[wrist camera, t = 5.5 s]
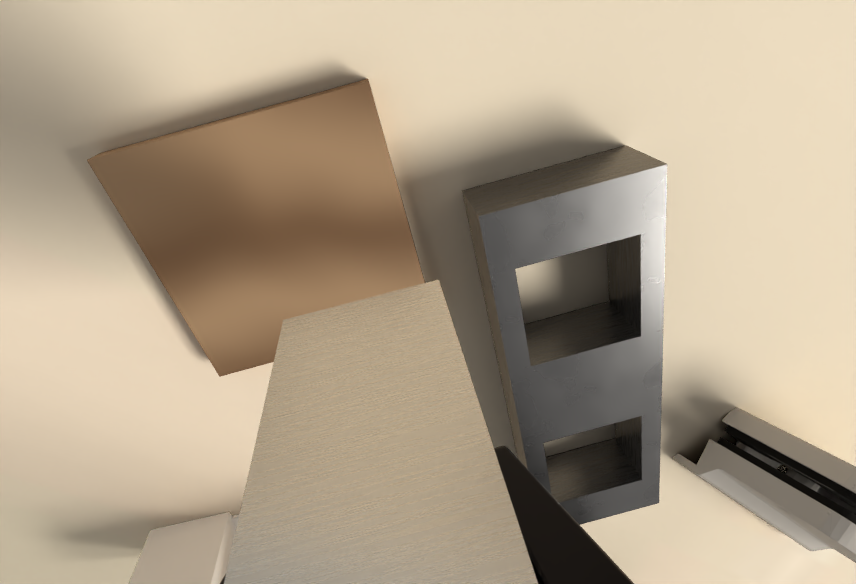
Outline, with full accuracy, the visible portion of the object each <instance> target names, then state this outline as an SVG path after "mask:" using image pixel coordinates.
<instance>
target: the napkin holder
mask: <svg viewBox="0 0 856 584" xmlns="http://www.w3.org/2000/svg"><path fill="white" fill-rule="evenodd" d="M238 519H239V514H238V515H234V516H232V515H231V514H230V512H227V513H222V514H218V515H214V516H209V517H205V518H200V519H196V520H192V521H187V522H183V523H179V524H174V525H170V526H166V527H161V528H157V529H153V530H150V532H149V534H148V537H147V539H146V542H145V544H144V547H143V549H142V552H141V554H140V556H139V559H138V561H137V564H136V566H135V569H134V571H133V574H132V576H131V579H130V581H129V584H220V582H221V581H222V579H223V577H224V576H225V574H226V572H227V568H228V563H229V559H230V554H231V550H232V545H233V541H234V536H235V532H236V528H237V523H238Z"/></svg>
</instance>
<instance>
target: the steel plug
mask: <svg viewBox="0 0 856 584" xmlns="http://www.w3.org/2000/svg"><path fill="white" fill-rule="evenodd" d="M224 584H538V582H537V579H536V576H535V573H534V569H533V566H532V563H531V560H530V557H529V554H528V551H527V548H526V545H525V542H524V539H523V536H522V533H521V530H520V527H519V524H518V520H517V517H516V514H515V511H514V508H513V505H512V502H511V499H510V496H509V493H508V490H507V487H506V484H505V481H504V478H503V475H502V472H501V468H500V465H499V462H498V459H497V456H496V453H495V450H494V447H493V444H492V441H491V438H490V435H489V432H488V429H487V426H486V423H485V419H484V416H483V413H482V410H481V407H480V404H479V401H478V398H477V395H476V392H475V389H474V386H473V383H472V380H471V377H470V374H469V371H468V367H467V364H466V361H465V358H464V355H463V352H462V349H461V346H460V343H459V340H458V337H457V334H456V331H455V328H454V325H453V322H452V318H451V315H450V312H449V309H448V306H447V303H446V300H445V297H444V294H443V291H442V288H441V285H440V282H439V280H435V281H431V282H427V283H423V284H419V285H416V286H412V287H408V288H404V289H400V290H396V291H392V292H389V293H385V294H381V295H377V296H373V297H369V298H366V299H362V300H358V301H354V302H350V303H346V304H342V305H339V306H335V307H331V308H327V309H323V310H319V311H316V312H312V313H308V314H304V315H300V316H296V317H292V318H289V319H285V320H283V323H282V328H281V332H280V336H279V341H278V345H277V350H276V354H275V359H274V363H273V368H272V372H271V376H270V381H269V385H268V390H267V394H266V399H265V403H264V408H263V412H262V416H261V421H260V425H259V430H258V434H257V439H256V443H255V448H254V452H253V456H252V461H251V465H250V470H249V474H248V479H247V483H246V488H245V492H244V496H243V501H242V505H241V510H240V514H239V519H238V523H237V528H236V532H235V536H234V541H233V545H232V550H231V554H230V559H229V563H228V568H227V572H226V576H225V581H224Z"/></svg>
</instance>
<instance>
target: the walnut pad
mask: <svg viewBox="0 0 856 584" xmlns="http://www.w3.org/2000/svg"><path fill="white" fill-rule="evenodd" d="M87 161H88V163H89V164H90V166H91V168H92V169H93V171H94V173H95V174H96V176H97V177H98V179H99V181H100V182H101V184H102V186H103V187H104V189H105V191H106V192H107V194H108V195H109V197H110V199H111V200H112V202H113V204H114V205H115V207H116V208H117V210H118V212H119V213H120V215H121V217H122V218H123V220H124V222H125V223H126V225H127V226H128V228H129V230H130V231H131V233H132V235H133V236H134V238H135V239H136V241H137V243H138V244H139V246H140V248H141V249H142V251H143V252H144V254H145V256H146V257H147V259H148V261H149V262H150V264H151V266H152V267H153V269H154V270H155V272H156V274H157V275H158V277H159V279H160V280H161V282H162V283H163V285H164V287H165V288H166V290H167V292H168V293H169V295H170V296H171V298H172V300H173V301H174V303H175V305H176V306H177V308H178V310H179V311H180V313H181V314H182V316H183V318H184V319H185V321H186V323H187V324H188V326H189V327H190V329H191V331H192V332H193V334H194V336H195V337H196V339H197V340H198V342H199V344H200V345H201V347H202V349H203V350H204V352H205V354H206V355H207V357H208V358H209V360H210V362H211V363H212V365H213V367H214V368H215V370H216V371H217V373H218V375H219V376H223V375H227V374H231V373H234V372H238V371H242V370H245V369H249V368H253V367H256V366H260V365H263V364H267V363H271V362H274V359H275V354H276V350H277V345H278V341H279V336H280V332H281V328H282V323H283V320H285V319H289V318H292V317H296V316H300V315H304V314H308V313H312V312H316V311H319V310H323V309H327V308H331V307H335V306H339V305H342V304H346V303H350V302H354V301H358V300H362V299H366V298H369V297H373V296H377V295H381V294H385V293H389V292H392V291H396V290H400V289H404V288H408V287H412V286H416V285H419V284H423V283H425V281H424V278H423V274H422V270H421V267H420V263H419V260H418V256H417V253H416V249H415V245H414V242H413V238H412V235H411V231H410V227H409V224H408V220H407V217H406V213H405V210H404V206H403V202H402V199H401V195H400V192H399V188H398V185H397V181H396V177H395V174H394V170H393V167H392V163H391V159H390V156H389V152H388V149H387V145H386V142H385V138H384V134H383V131H382V127H381V124H380V120H379V117H378V113H377V109H376V106H375V102H374V99H373V95H372V91H371V88H370V84H369V81H368V79H365V80H362V81H358V82H355V83H351V84H347V85H344V86H340V87H337V88H333V89H329V90H326V91H322V92H319V93H315V94H311V95H308V96H304V97H301V98H297V99H293V100H290V101H286V102H283V103H279V104H276V105H272V106H268V107H265V108H261V109H258V110H254V111H250V112H247V113H243V114H240V115H236V116H232V117H229V118H225V119H222V120H218V121H214V122H211V123H207V124H204V125H200V126H196V127H193V128H189V129H186V130H182V131H178V132H175V133H171V134H168V135H164V136H160V137H157V138H153V139H150V140H146V141H143V142H139V143H135V144H132V145H128V146H125V147H121V148H117V149H114V150H110V151H107V152H103V153H100V154H98V155H96V156H94V157H92V158H90V159H88V160H87Z"/></svg>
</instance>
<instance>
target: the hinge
mask: <svg viewBox="0 0 856 584" xmlns="http://www.w3.org/2000/svg"><path fill="white" fill-rule="evenodd" d="M722 421H723V422H724V423H725V424H726V425H727V428H726V429H725V431H726V432H727V433H728V434H730V435H731V436H732V437H733V438H735V439H736V440H737V443H736V446H735V445H733V444H732V443H730V442H728V441H726V440H725V439H723V438H721V437H720V438H719V440H718V441H717V443H716V442H715V441H713V440H711V439H709V441H708V443H707V445H706V447H705V449H704V451H703V453H702V455H701V457H700V459H699V461H698V463H697V465H696V464H694V463H693V462H691V461H689V460H688V459H686V458H685V457H683V456H682V455H680V454H679V453H677V454H676V455H675V456H674V457H673V459H674V460H675V461H677V462H678V463H679V464H681V465H682V466H684V467H685V468H687V469H688V470H690V471H691V472H693V473H694V474H696V475H697V476H699V477H700V478H702V479H703V480H705V481H706V482H708V483H709V484H711V485H712V486H714V487H715V488H717V489H718V490H720V491H721V492H723V493H724V494H726V495H727V496H729V497H730V498H732V499H733V500H735V501H736V502H738V503H739V504H741V505H742V506H744V507H745V508H747V509H748V510H749V511H751V512H752V513H754V514H755V515H757V516H758V517H760V518H761V519H763V520H764V521H766V522H767V523H769V524H770V525H772V526H773V527H775V528H776V529H778V530H779V531H781V532H782V533H784V534H785V535H787V536H788V537H790V538H791V539H793V540H794V541H796V542H797V543H799V544H800V545H802V546H803V547H805V548H806V549H808V550H810V551H817V550H823V549H835V550H836V551H838V552H840V553H841V554H843V555H844V556H846V557H848V558H849V559H851V560H852V561H854V562H855V563H856V467H855V466H853V465H851V464H849V463H847V462H845V461H843V460H841V459H839V458H837V457H835V456H833V455H831V454H829V453H827V452H825V451H823V450H821V449H819V448H817V447H815V446H813V445H811V444H809V443H807V442H805V441H803V440H801V439H799V438H797V437H795V436H793V435H791V434H789V433H787V432H785V431H783V430H781V429H779V428H777V427H775V426H773V425H771V424H769V423H767V422H765V421H763V420H761V419H759V418H757V417H755V416H753V415H751V414H749V413H747V412H745V411H743V410H741V409H739V408H735V409H733V410H732V411H730V412H729V413H728V414H727V415H726V416H725V418H724V419H723V420H722ZM780 465H784V466H785V467H787V468H788V470H787V471H786V473H785V474H784V473H783V472H781V471H779V470H777V469H776V468H777V467H779V466H780Z"/></svg>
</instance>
